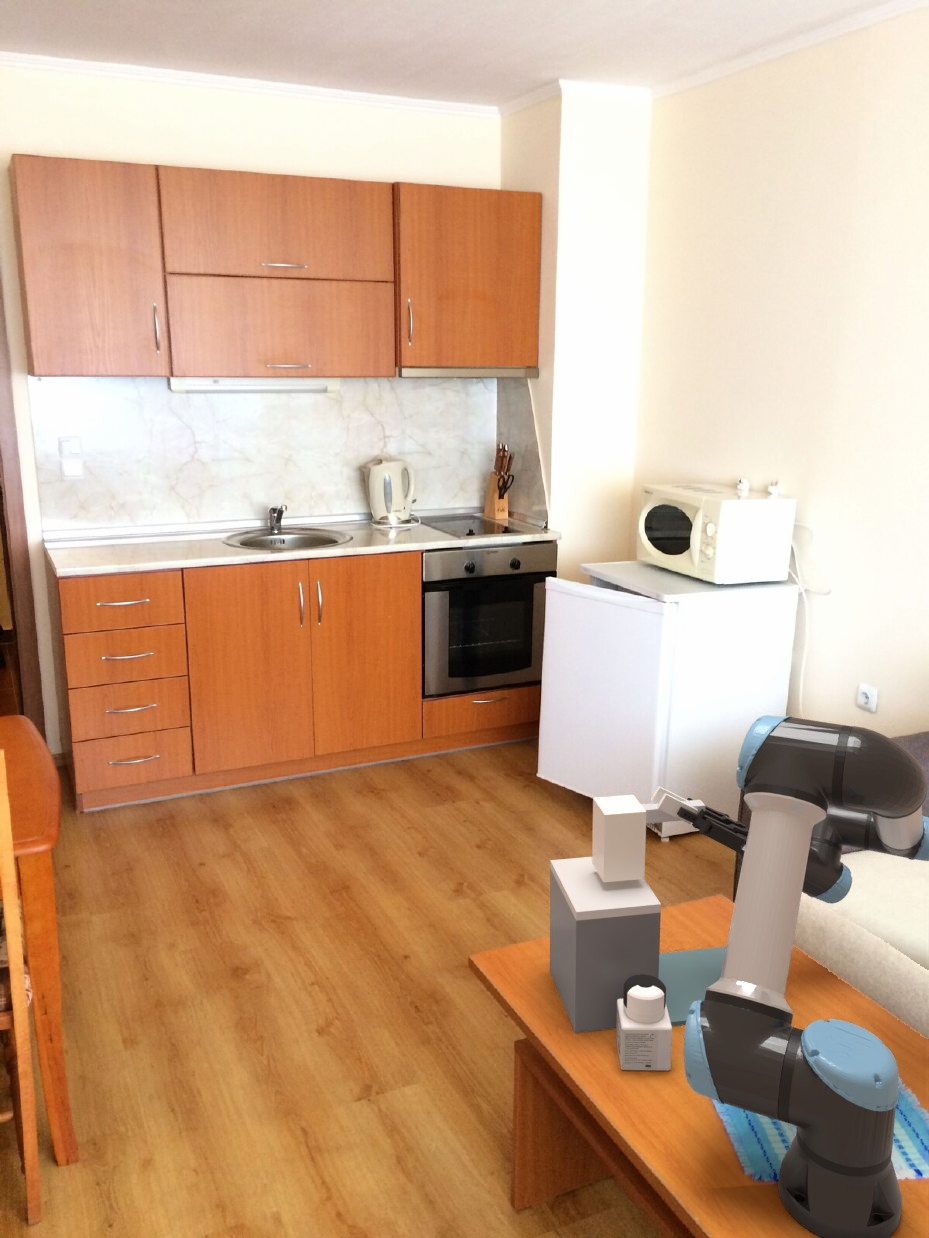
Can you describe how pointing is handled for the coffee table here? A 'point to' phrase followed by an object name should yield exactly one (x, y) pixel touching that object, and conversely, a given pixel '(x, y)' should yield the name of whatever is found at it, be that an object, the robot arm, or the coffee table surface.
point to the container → (643, 1025)
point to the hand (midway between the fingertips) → (658, 797)
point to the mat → (688, 978)
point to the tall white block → (624, 835)
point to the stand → (599, 940)
